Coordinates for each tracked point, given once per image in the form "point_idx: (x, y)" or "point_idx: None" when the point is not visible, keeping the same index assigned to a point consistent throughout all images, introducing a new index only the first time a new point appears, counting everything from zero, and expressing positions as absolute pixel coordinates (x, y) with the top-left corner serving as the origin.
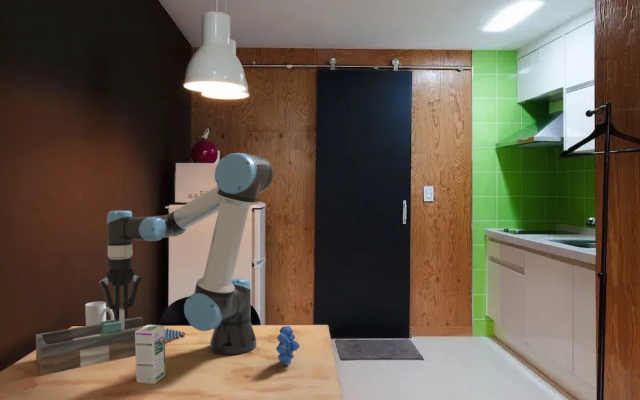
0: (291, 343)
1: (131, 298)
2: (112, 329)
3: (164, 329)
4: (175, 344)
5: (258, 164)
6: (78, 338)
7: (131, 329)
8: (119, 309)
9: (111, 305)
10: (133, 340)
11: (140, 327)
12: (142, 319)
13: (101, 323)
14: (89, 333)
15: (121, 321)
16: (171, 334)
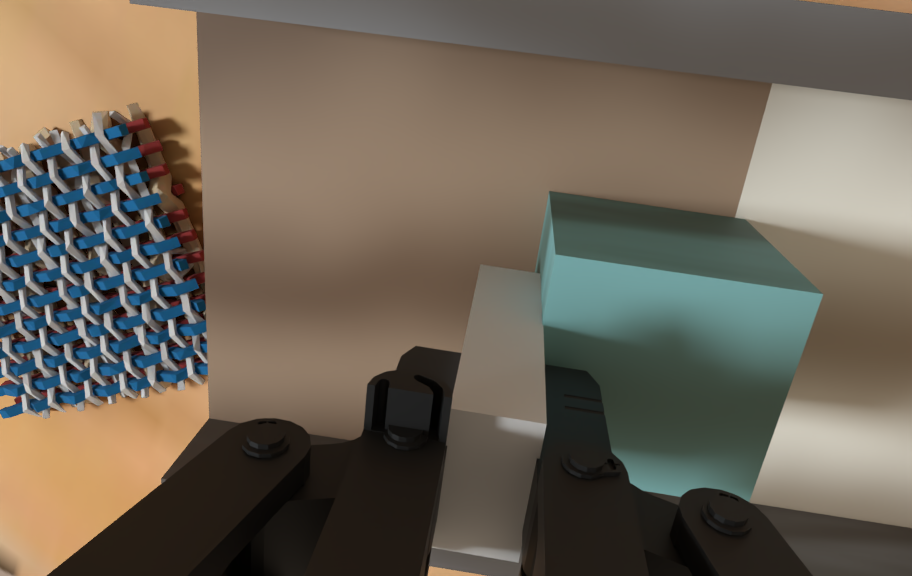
0: None
1: (200, 549)
2: (673, 241)
3: (35, 407)
4: (41, 7)
5: None
6: (886, 501)
7: (343, 400)
8: (516, 489)
9: (742, 554)
10: None
11: (242, 399)
12: (175, 466)
13: (752, 461)
14: (770, 521)
15: (517, 315)
16: (8, 233)
